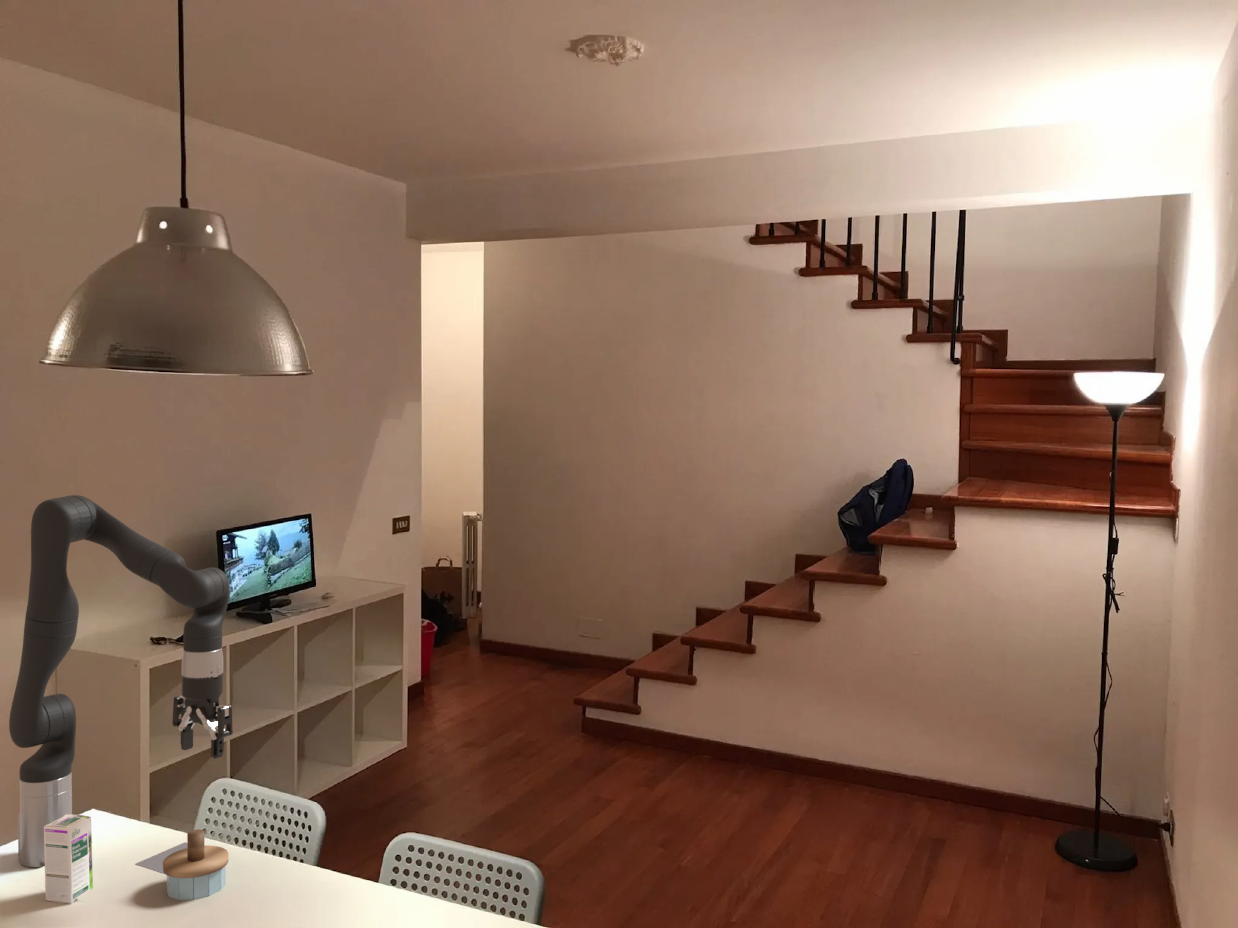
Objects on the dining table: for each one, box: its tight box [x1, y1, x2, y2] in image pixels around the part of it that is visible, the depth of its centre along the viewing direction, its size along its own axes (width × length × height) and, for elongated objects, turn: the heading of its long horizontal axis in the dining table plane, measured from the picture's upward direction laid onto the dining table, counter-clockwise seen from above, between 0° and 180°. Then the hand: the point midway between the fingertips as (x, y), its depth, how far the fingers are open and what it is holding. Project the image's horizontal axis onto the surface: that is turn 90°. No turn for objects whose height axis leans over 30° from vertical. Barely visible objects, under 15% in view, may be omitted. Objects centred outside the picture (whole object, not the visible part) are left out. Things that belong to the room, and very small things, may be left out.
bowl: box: [166, 866, 226, 901], centre depth 192 cm, size 10×10×5 cm
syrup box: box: [44, 814, 94, 905], centre depth 189 cm, size 6×6×14 cm
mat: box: [134, 841, 187, 875], centre depth 204 cm, size 12×12×1 cm
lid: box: [163, 828, 229, 878], centre depth 192 cm, size 12×12×7 cm
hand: (201, 753), depth 196 cm, fingers open, 8 cm apart
